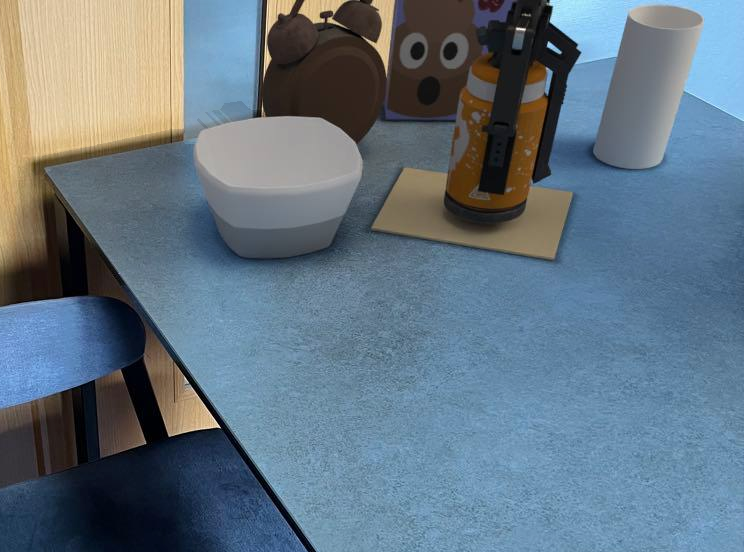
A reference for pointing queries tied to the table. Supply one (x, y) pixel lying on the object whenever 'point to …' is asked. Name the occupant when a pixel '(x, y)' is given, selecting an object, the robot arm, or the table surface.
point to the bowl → (277, 183)
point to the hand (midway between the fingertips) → (499, 172)
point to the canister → (531, 125)
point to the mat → (434, 222)
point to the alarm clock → (327, 68)
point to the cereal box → (434, 55)
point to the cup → (647, 85)
